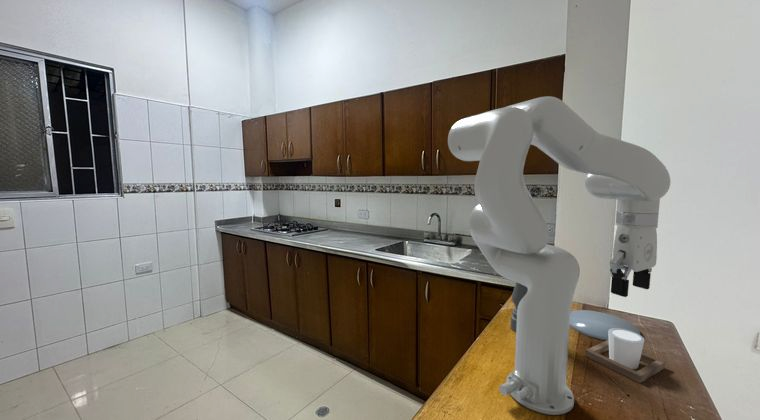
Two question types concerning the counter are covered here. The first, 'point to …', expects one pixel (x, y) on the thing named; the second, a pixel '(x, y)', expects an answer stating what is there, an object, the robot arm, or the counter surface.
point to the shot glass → (625, 347)
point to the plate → (598, 323)
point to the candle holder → (517, 302)
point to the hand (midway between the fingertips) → (630, 291)
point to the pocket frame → (637, 376)
